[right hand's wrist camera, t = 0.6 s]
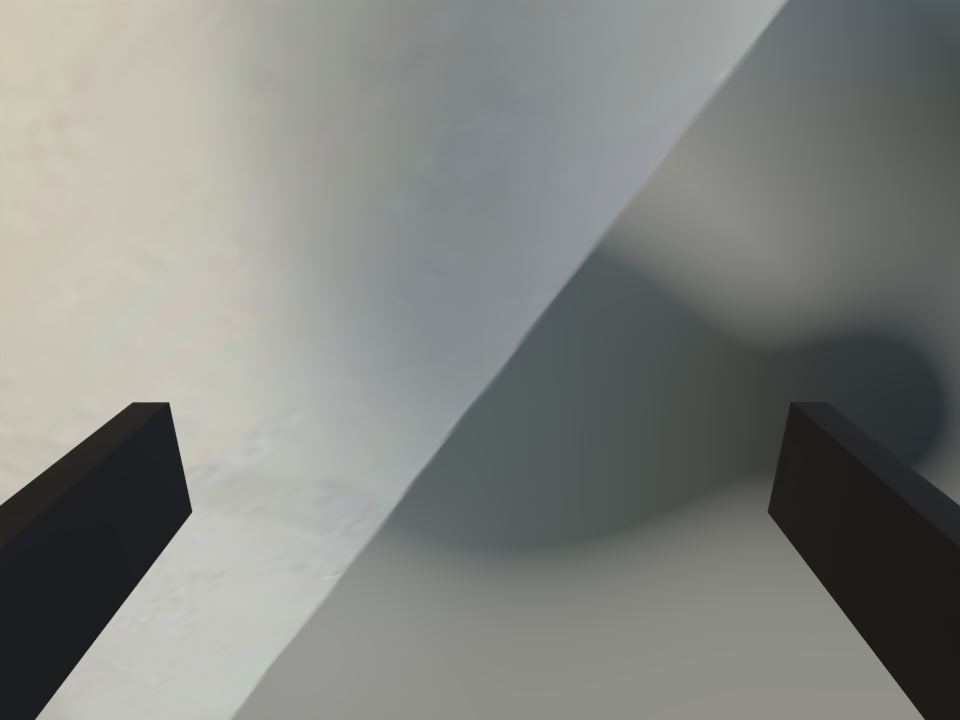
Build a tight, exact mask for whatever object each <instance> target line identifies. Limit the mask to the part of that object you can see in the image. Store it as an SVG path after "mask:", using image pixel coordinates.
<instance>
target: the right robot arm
mask: <svg viewBox="0 0 960 720" xmlns="http://www.w3.org/2000/svg"><path fill="white" fill-rule="evenodd" d="M191 513H192V508H191V503H190V499H189V494H188V489H187V484H186V480H185V475H184V470H183V466H182V461H181V456H180V451H179V447H178V442H177V437H176V433H175V428H174V423H173V418H172V414H171V409H170V404H169V402H133V403H131V404H130V405H129V406H128V407H126V408H125V409H124V410H122V411H121V412H120V413H119V414H117V415H116V416H115V417H114V418H112V419H111V420H110V421H108V422H107V423H106V424H105V425H103V426H102V427H101V428H99V429H98V430H97V431H96V432H94V433H93V434H92V435H90V436H89V437H88V438H87V439H85V440H84V441H83V442H81V443H80V444H79V445H78V446H76V447H75V448H74V449H72V450H71V451H70V452H69V453H67V454H66V455H65V456H63V457H62V458H61V459H60V460H58V461H57V462H56V463H54V464H53V465H52V466H51V467H49V468H48V469H47V470H45V471H44V472H43V473H42V474H40V475H39V476H38V477H36V478H35V479H34V480H33V481H31V482H30V483H29V484H27V485H26V486H25V487H24V488H22V489H21V490H20V491H19V492H17V493H16V494H15V495H13V496H12V497H11V498H10V499H8V500H7V501H6V502H4V503H3V504H2V505H1V506H0V720H35V719H36V718H37V716H38V715H39V714H40V712H41V711H42V710H43V708H44V707H45V706H46V705H47V703H48V702H49V701H50V699H51V698H52V697H53V695H54V694H55V693H56V691H57V690H58V689H59V687H60V686H61V685H62V683H63V682H64V681H65V679H66V678H67V677H68V675H69V674H70V673H71V671H72V670H73V669H74V668H75V666H76V665H77V664H78V662H79V661H80V660H81V658H82V657H83V656H84V654H85V653H86V652H87V650H88V649H89V648H90V646H91V645H92V644H93V642H94V641H95V640H96V638H97V637H98V636H99V635H100V633H101V632H102V631H103V629H104V628H105V627H106V625H107V624H108V623H109V621H110V620H111V619H112V617H113V616H114V615H115V613H116V612H117V611H118V609H119V608H120V607H121V605H122V604H123V603H124V602H125V600H126V599H127V598H128V596H129V595H130V594H131V592H132V591H133V590H134V588H135V587H136V586H137V584H138V583H139V582H140V580H141V579H142V578H143V576H144V575H145V574H146V572H147V571H148V570H149V568H150V567H151V566H152V565H153V563H154V562H155V561H156V559H157V558H158V557H159V555H160V554H161V553H162V551H163V550H164V549H165V547H166V546H167V545H168V543H169V542H170V541H171V539H172V538H173V537H174V535H175V534H176V533H177V532H178V530H179V529H180V528H181V526H182V525H183V524H184V522H185V521H186V520H187V518H188V517H189V516H190V514H191ZM768 513H769V514H770V516H771V517H772V518H773V520H774V521H775V522H776V524H777V525H778V526H779V528H780V529H781V530H782V532H783V533H784V534H785V535H786V537H787V538H788V539H789V541H790V542H791V543H792V545H793V546H794V547H795V549H796V550H797V551H798V553H799V554H800V555H801V557H802V558H803V559H804V561H805V562H806V563H807V565H808V566H809V567H810V568H811V570H812V571H813V572H814V574H815V575H816V576H817V578H818V579H819V580H820V582H821V583H822V584H823V586H824V587H825V588H826V590H827V591H828V592H829V593H830V595H831V596H832V598H833V599H834V600H835V601H836V603H837V604H838V605H839V607H840V608H841V609H842V611H843V612H844V613H845V615H846V616H847V617H848V619H849V620H850V621H851V623H852V624H853V625H854V627H855V628H856V629H857V631H858V632H859V633H860V635H861V636H862V637H863V638H864V640H865V641H866V642H867V644H868V645H869V646H870V648H871V649H872V650H873V652H874V653H875V654H876V656H877V657H878V658H879V660H880V661H881V662H882V664H883V665H884V666H885V668H886V669H887V670H888V671H889V673H890V674H891V675H892V677H893V678H894V679H895V681H896V682H897V683H898V685H899V686H900V687H901V689H902V690H903V691H904V692H905V694H906V695H907V697H908V698H909V699H910V701H911V702H912V703H913V705H914V706H915V707H916V708H917V710H918V711H919V712H920V714H921V715H922V716H923V718H924V719H925V720H960V506H959V505H958V504H957V503H956V502H954V501H953V500H952V499H950V498H949V497H948V496H947V495H945V494H944V493H943V492H941V491H940V490H939V489H938V488H936V487H935V486H934V485H933V484H931V483H930V482H929V481H927V480H926V479H925V478H924V477H922V476H921V475H920V474H918V473H917V472H916V471H915V470H913V469H912V468H911V467H909V466H908V465H907V464H906V463H904V462H903V461H902V460H900V459H899V458H898V457H897V456H895V455H894V454H893V453H891V452H890V451H889V450H888V449H886V448H885V447H884V446H882V445H881V444H880V443H879V442H877V441H876V440H875V439H873V438H872V437H871V436H870V435H868V434H867V433H866V432H864V431H863V430H862V429H861V428H859V427H858V426H857V425H855V424H854V423H853V422H852V421H850V420H849V419H848V418H846V417H845V416H844V415H843V414H841V413H840V412H839V411H837V410H836V409H835V408H834V407H832V406H831V405H830V404H828V403H826V402H791V404H790V409H789V414H788V418H787V423H786V428H785V433H784V437H783V442H782V447H781V452H780V456H779V461H778V466H777V470H776V475H775V480H774V484H773V489H772V494H771V499H770V503H769V508H768Z"/></svg>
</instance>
